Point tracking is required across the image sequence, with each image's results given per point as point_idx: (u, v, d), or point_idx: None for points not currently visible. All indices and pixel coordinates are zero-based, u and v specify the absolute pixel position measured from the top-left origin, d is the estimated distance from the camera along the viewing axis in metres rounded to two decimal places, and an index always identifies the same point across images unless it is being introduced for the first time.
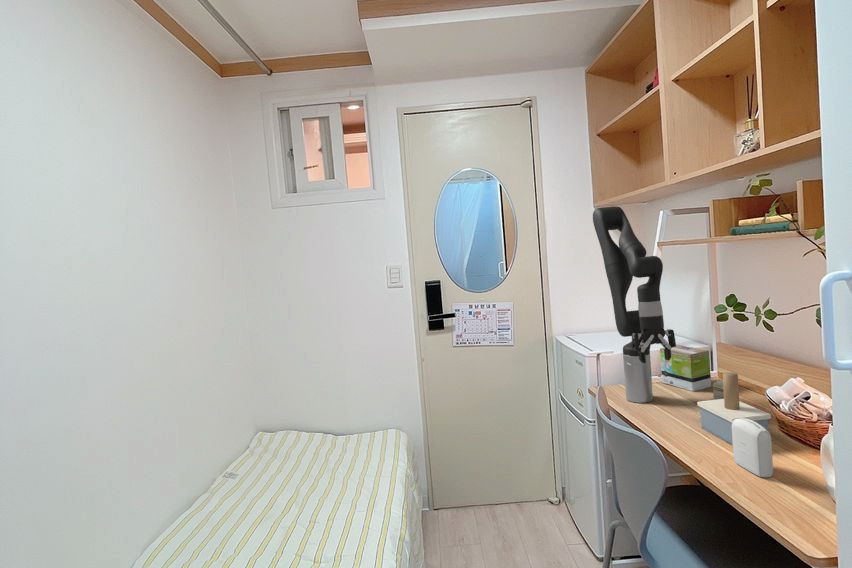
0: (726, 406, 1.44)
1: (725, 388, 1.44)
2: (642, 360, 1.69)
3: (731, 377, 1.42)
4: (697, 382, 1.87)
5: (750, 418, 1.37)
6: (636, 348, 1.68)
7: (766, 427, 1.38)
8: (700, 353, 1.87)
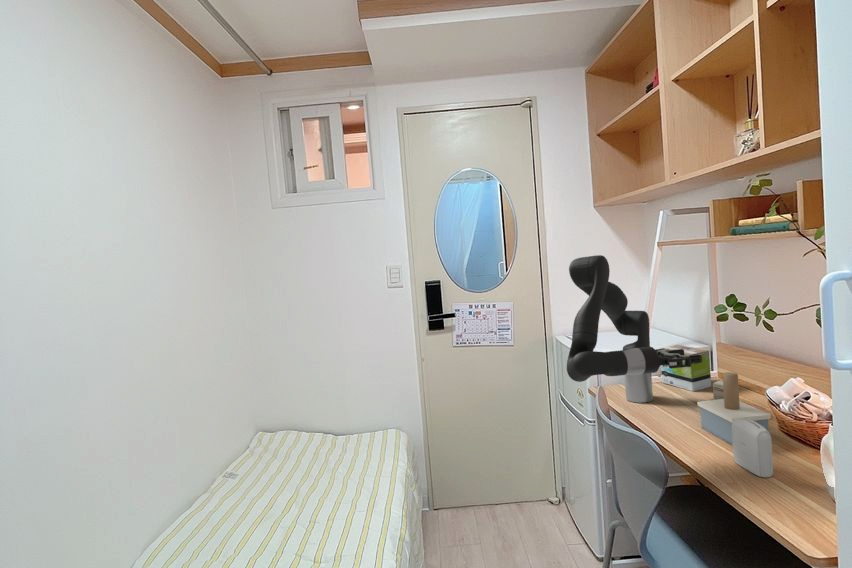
0: (726, 406, 1.44)
1: (725, 388, 1.44)
2: None
3: (731, 377, 1.42)
4: (697, 382, 1.87)
5: (750, 418, 1.37)
6: None
7: (766, 427, 1.38)
8: (700, 353, 1.87)
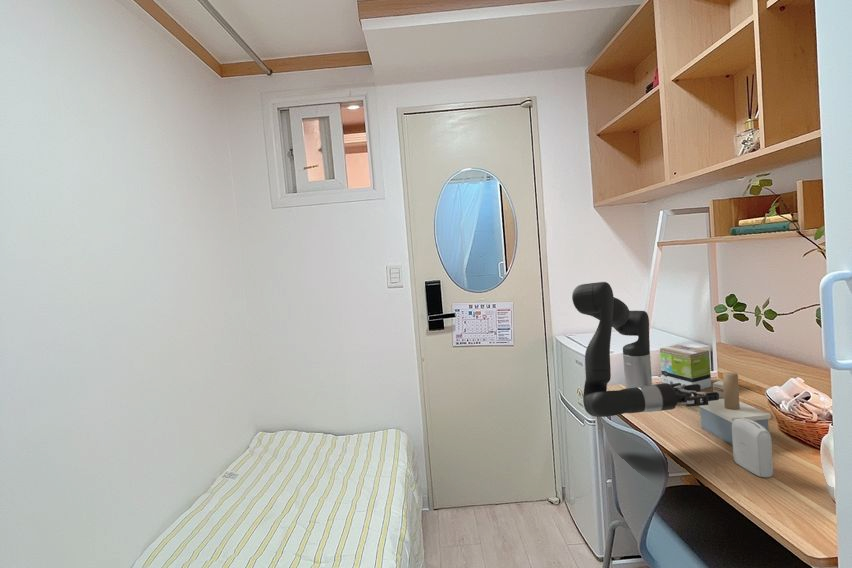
0: (726, 406, 1.44)
1: (725, 388, 1.44)
2: None
3: (731, 377, 1.42)
4: (697, 382, 1.87)
5: (750, 418, 1.37)
6: None
7: (766, 427, 1.38)
8: (700, 353, 1.87)
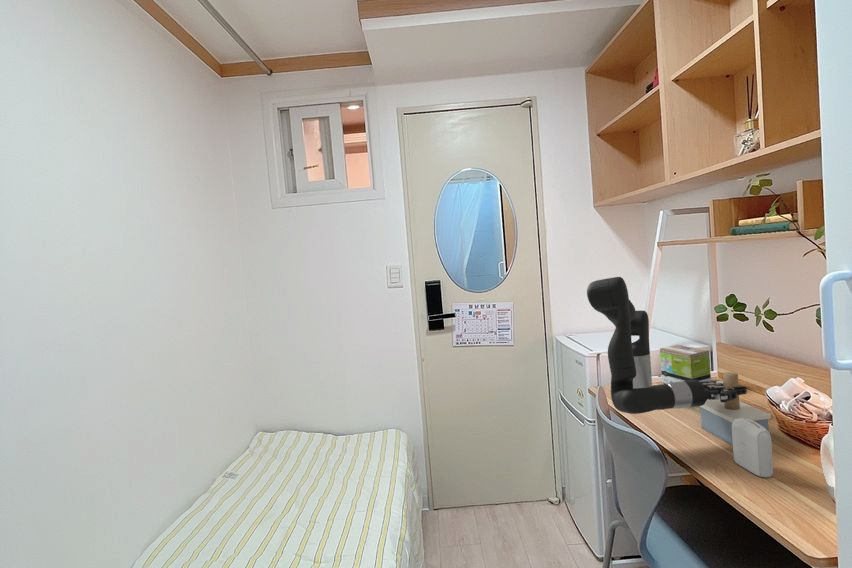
0: (726, 406, 1.44)
1: None
2: None
3: (731, 377, 1.42)
4: None
5: (750, 418, 1.37)
6: None
7: (766, 427, 1.38)
8: (700, 353, 1.87)
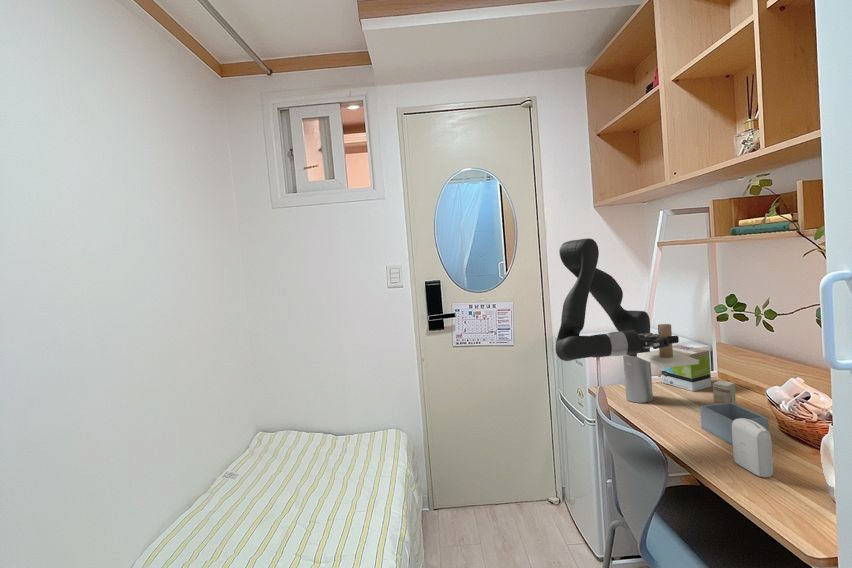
0: (660, 355, 1.55)
1: None
2: None
3: (664, 327, 1.53)
4: (697, 382, 1.87)
5: (680, 363, 1.47)
6: None
7: (766, 427, 1.38)
8: (700, 353, 1.87)
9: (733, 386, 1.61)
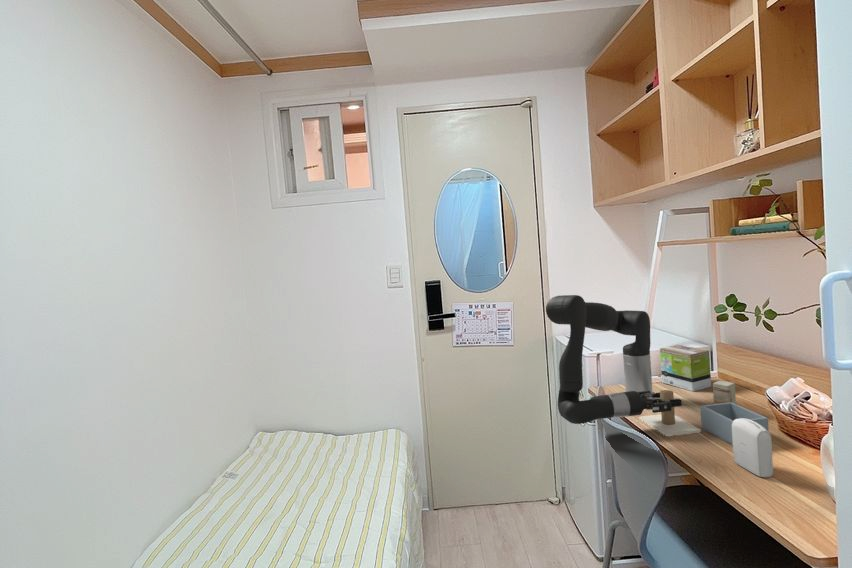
0: (662, 421, 1.56)
1: None
2: None
3: (667, 395, 1.54)
4: (697, 382, 1.87)
5: (682, 433, 1.49)
6: None
7: (766, 427, 1.38)
8: (700, 353, 1.87)
9: (733, 386, 1.61)
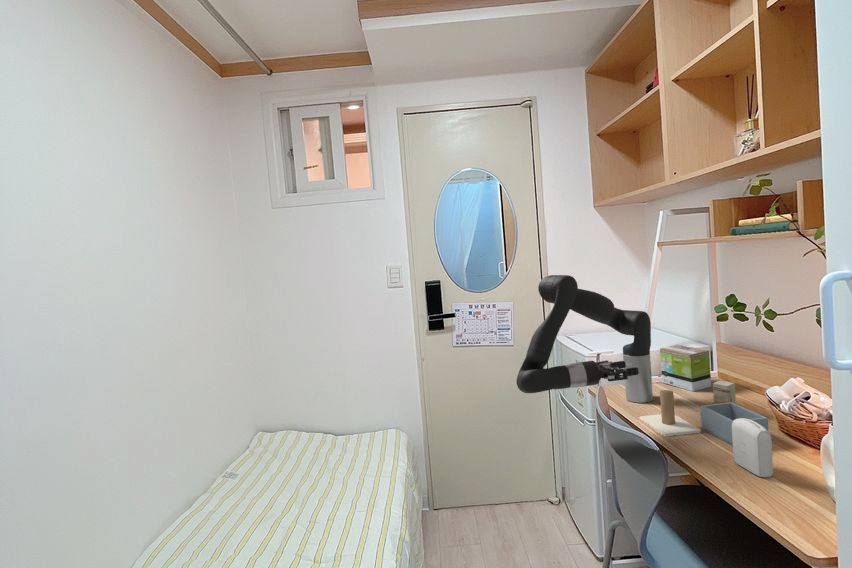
0: (662, 421, 1.57)
1: (662, 405, 1.56)
2: None
3: (666, 395, 1.54)
4: (697, 382, 1.87)
5: (681, 433, 1.49)
6: None
7: (766, 427, 1.38)
8: (700, 353, 1.87)
9: (733, 386, 1.61)
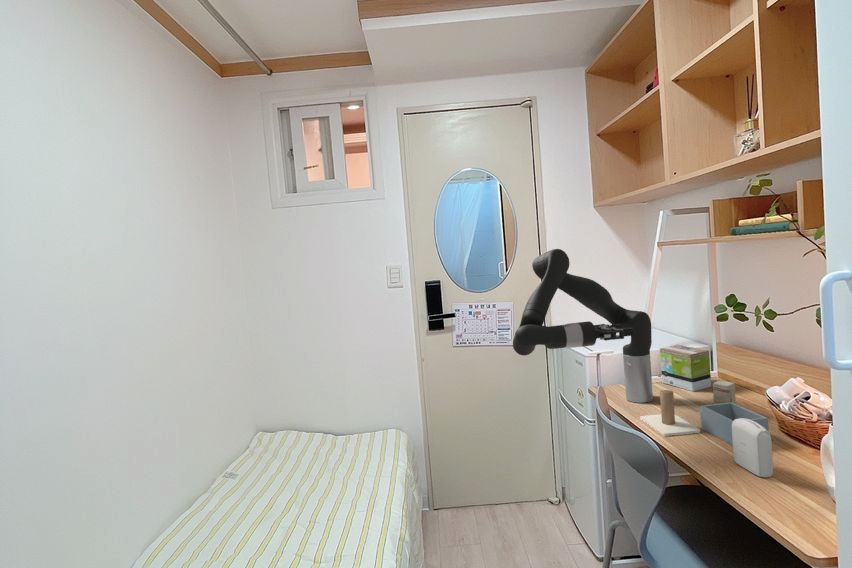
0: (662, 421, 1.57)
1: (662, 405, 1.56)
2: None
3: (666, 395, 1.54)
4: (697, 382, 1.87)
5: (681, 433, 1.49)
6: None
7: (766, 427, 1.38)
8: (700, 353, 1.87)
9: (733, 386, 1.61)
